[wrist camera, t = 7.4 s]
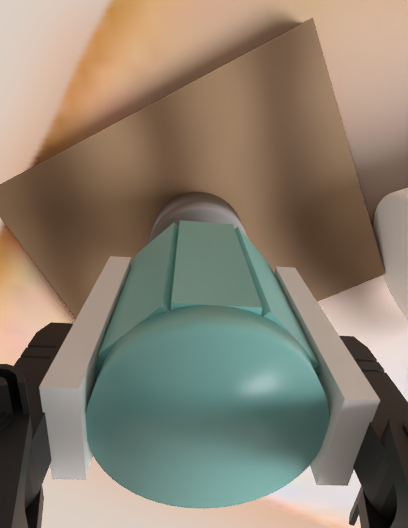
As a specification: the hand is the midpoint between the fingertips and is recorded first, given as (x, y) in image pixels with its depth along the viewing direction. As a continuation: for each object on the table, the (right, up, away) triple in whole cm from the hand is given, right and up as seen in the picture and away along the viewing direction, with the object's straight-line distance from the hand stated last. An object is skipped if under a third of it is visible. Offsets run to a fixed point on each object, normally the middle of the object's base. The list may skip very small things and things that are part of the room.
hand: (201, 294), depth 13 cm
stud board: (0, +3, +7) cm, 8 cm away
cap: (0, 0, +1) cm, 1 cm away
